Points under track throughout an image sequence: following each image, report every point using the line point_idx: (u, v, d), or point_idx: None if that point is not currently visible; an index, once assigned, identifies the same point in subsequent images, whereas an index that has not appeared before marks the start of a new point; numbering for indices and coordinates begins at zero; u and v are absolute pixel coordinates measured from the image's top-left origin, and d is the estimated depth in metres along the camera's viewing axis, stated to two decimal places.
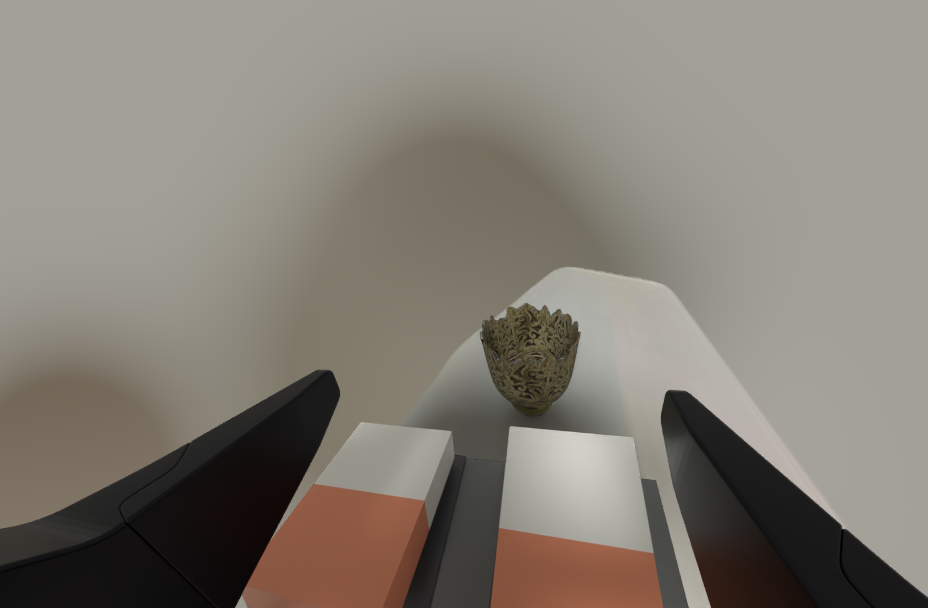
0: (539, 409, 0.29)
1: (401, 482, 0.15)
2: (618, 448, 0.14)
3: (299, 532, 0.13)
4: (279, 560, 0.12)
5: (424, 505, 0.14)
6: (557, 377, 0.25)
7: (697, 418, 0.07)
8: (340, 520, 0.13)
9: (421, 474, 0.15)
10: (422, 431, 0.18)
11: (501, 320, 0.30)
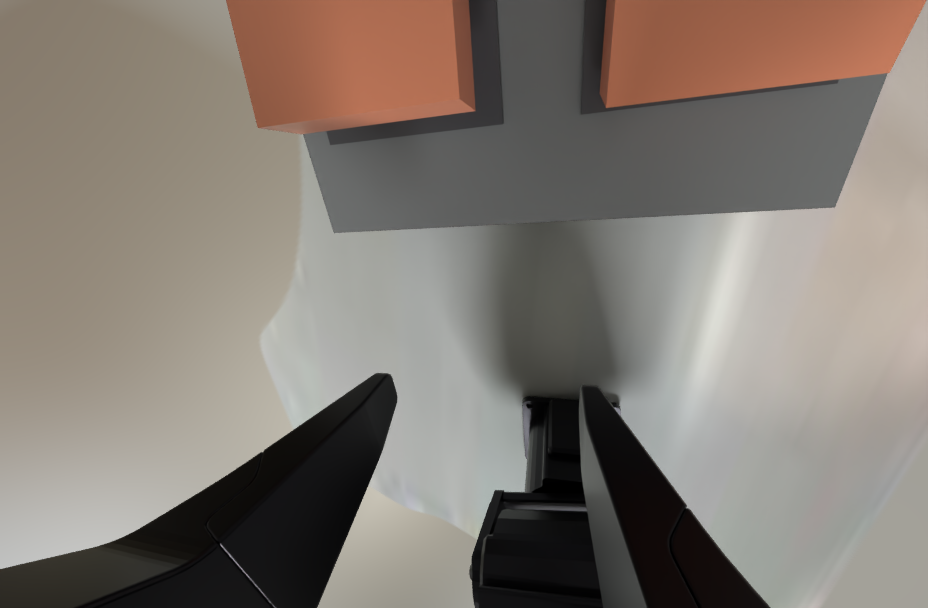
0: None
1: None
2: None
3: (266, 23, 0.08)
4: (277, 77, 0.08)
5: None
6: None
7: (596, 410, 0.07)
8: None
9: None
10: None
11: None
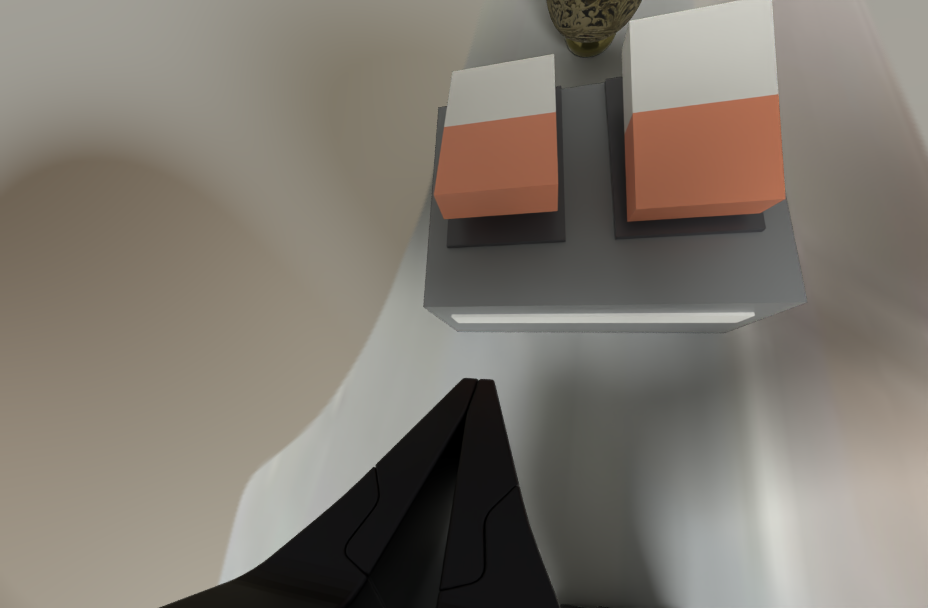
0: (602, 44, 0.26)
1: (526, 105, 0.16)
2: (753, 11, 0.14)
3: (458, 158, 0.15)
4: (455, 176, 0.15)
5: (554, 117, 0.15)
6: None
7: (480, 402, 0.08)
8: (487, 142, 0.15)
9: (542, 95, 0.16)
10: (523, 62, 0.17)
11: None
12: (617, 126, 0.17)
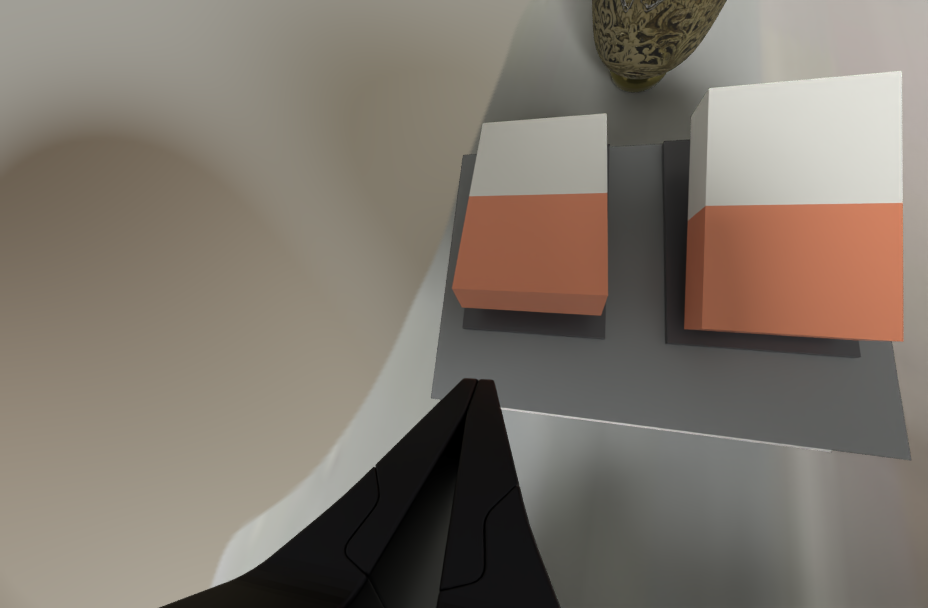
0: (652, 80, 0.23)
1: (570, 179, 0.13)
2: (875, 90, 0.11)
3: (484, 241, 0.13)
4: (480, 265, 0.12)
5: (604, 197, 0.13)
6: (705, 21, 0.18)
7: (480, 402, 0.08)
8: (521, 224, 0.13)
9: (590, 167, 0.13)
10: (568, 120, 0.14)
11: None
12: (675, 202, 0.14)
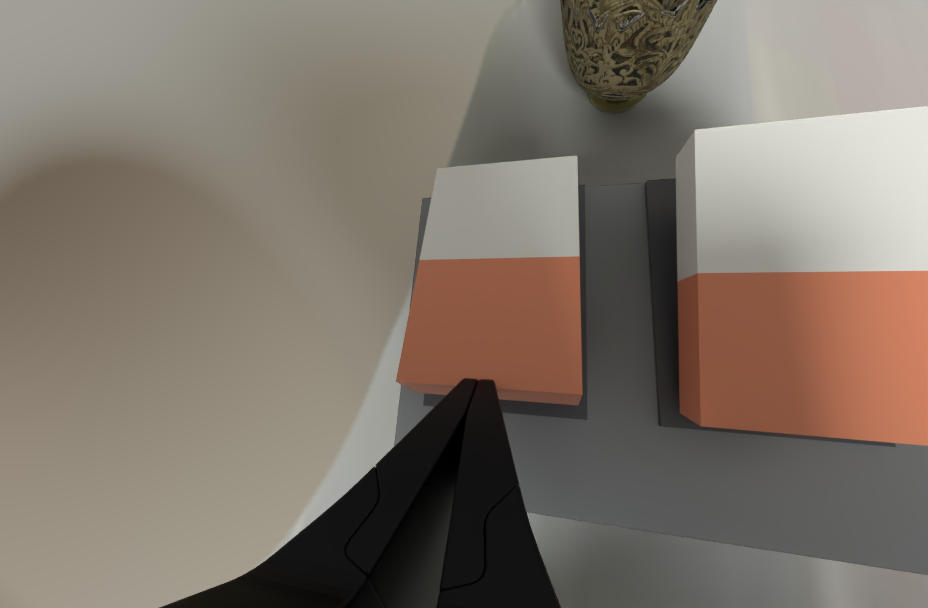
0: (633, 100, 0.21)
1: (535, 238, 0.11)
2: (897, 130, 0.09)
3: (435, 318, 0.11)
4: (429, 351, 0.10)
5: (577, 260, 0.11)
6: (687, 38, 0.16)
7: (480, 402, 0.08)
8: (478, 297, 0.10)
9: (559, 223, 0.11)
10: (533, 164, 0.12)
11: None
12: (663, 253, 0.12)
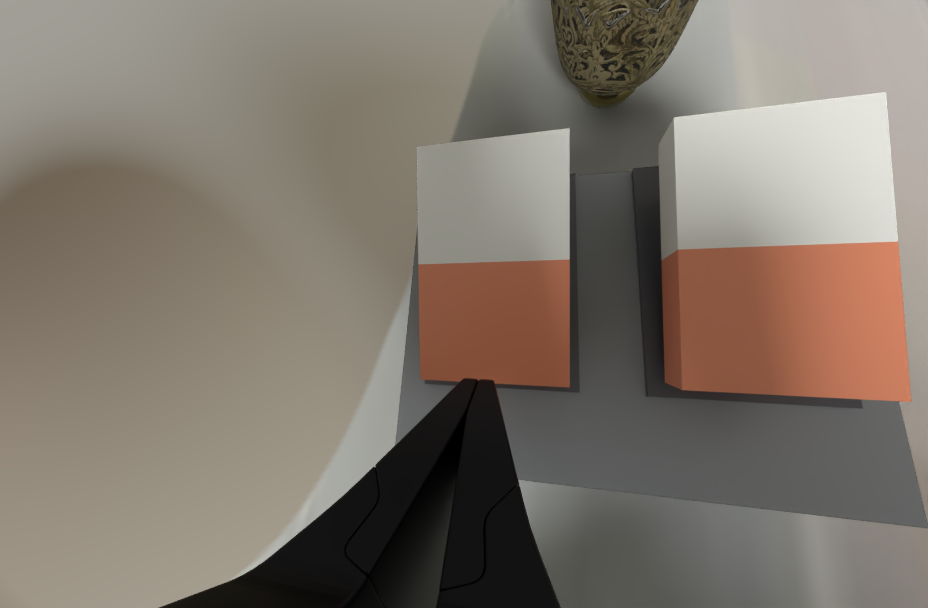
0: (622, 95, 0.22)
1: (527, 239, 0.11)
2: (857, 114, 0.09)
3: (443, 324, 0.12)
4: (443, 353, 0.12)
5: (567, 260, 0.11)
6: (672, 34, 0.17)
7: (480, 402, 0.08)
8: (479, 303, 0.12)
9: (550, 221, 0.11)
10: (521, 141, 0.11)
11: None
12: (649, 235, 0.13)
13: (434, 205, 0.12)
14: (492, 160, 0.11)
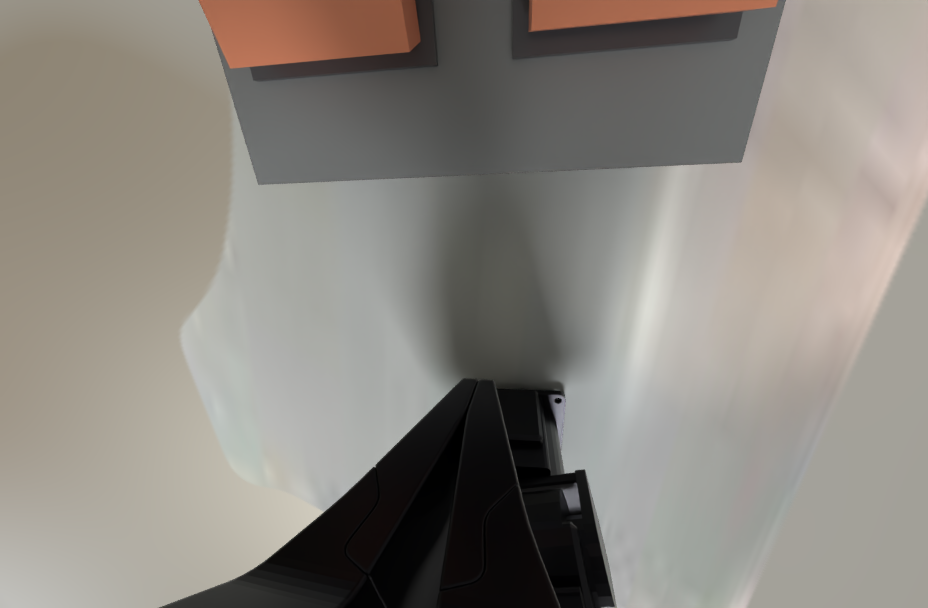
0: None
1: None
2: None
3: None
4: (241, 21, 0.09)
5: None
6: None
7: (480, 402, 0.08)
8: None
9: None
10: None
11: None
12: None
13: None
14: None
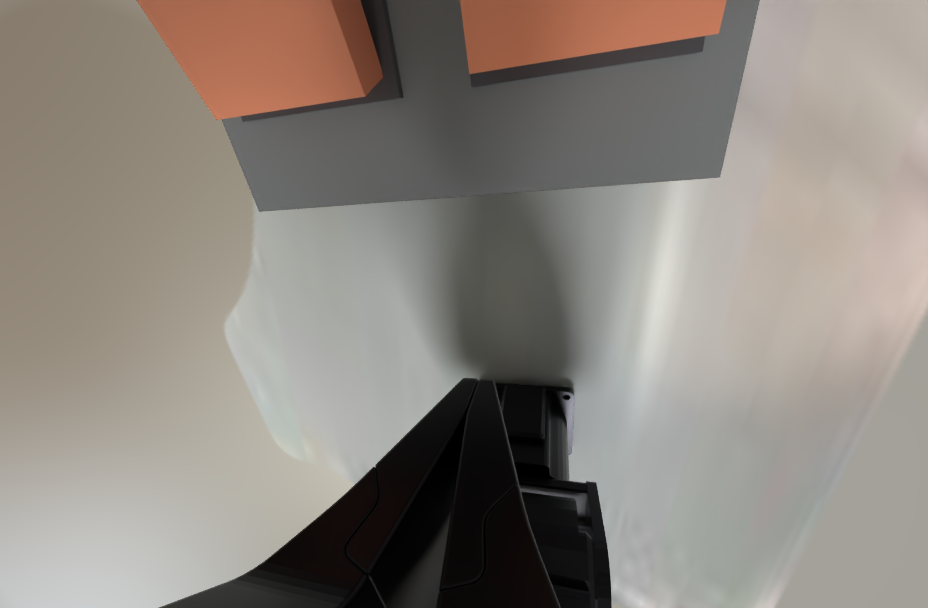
0: None
1: None
2: None
3: (190, 36, 0.09)
4: (217, 81, 0.10)
5: None
6: None
7: (480, 402, 0.08)
8: None
9: None
10: None
11: None
12: None
13: None
14: None
